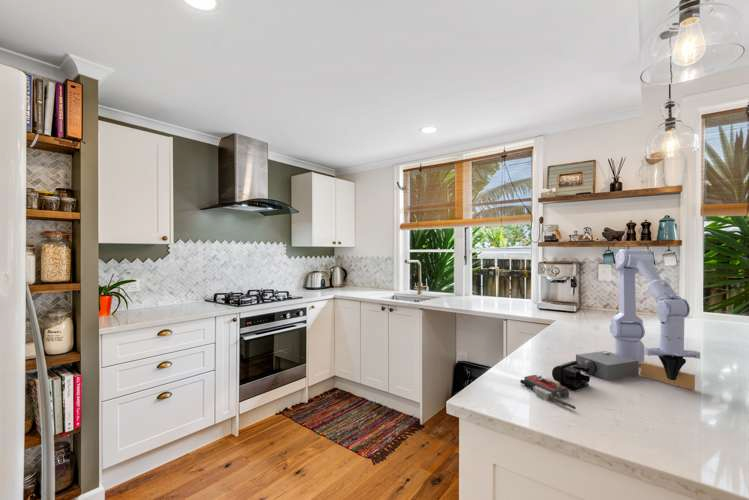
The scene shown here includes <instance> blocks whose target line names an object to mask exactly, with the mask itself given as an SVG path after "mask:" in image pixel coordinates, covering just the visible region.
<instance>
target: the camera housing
mask: <svg viewBox="0 0 749 500" xmlns="http://www.w3.org/2000/svg"><path fill="white" fill-rule="evenodd" d="M575 361H578V364H580V365H584V366H587V367H590V372H586V371H583V372H584V373H585V374H586V375H587V374H588V375H592V376H595V377H598V378H601V379H603V380H606V381H612V380H617V379H623V378H629V377H636V376H639V374H640V373H639V372H640V369H639V368H640V367H639V366H640V365H639V361H638V360H634V359H631V358H628V357H624V356H621V355H617V354H615V352H610V351H606V350H604V351H603V350H602V351H595V352H594V351H593V352H587V353H585V352H584V353H579V354H577V353H576V354H575Z"/></svg>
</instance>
